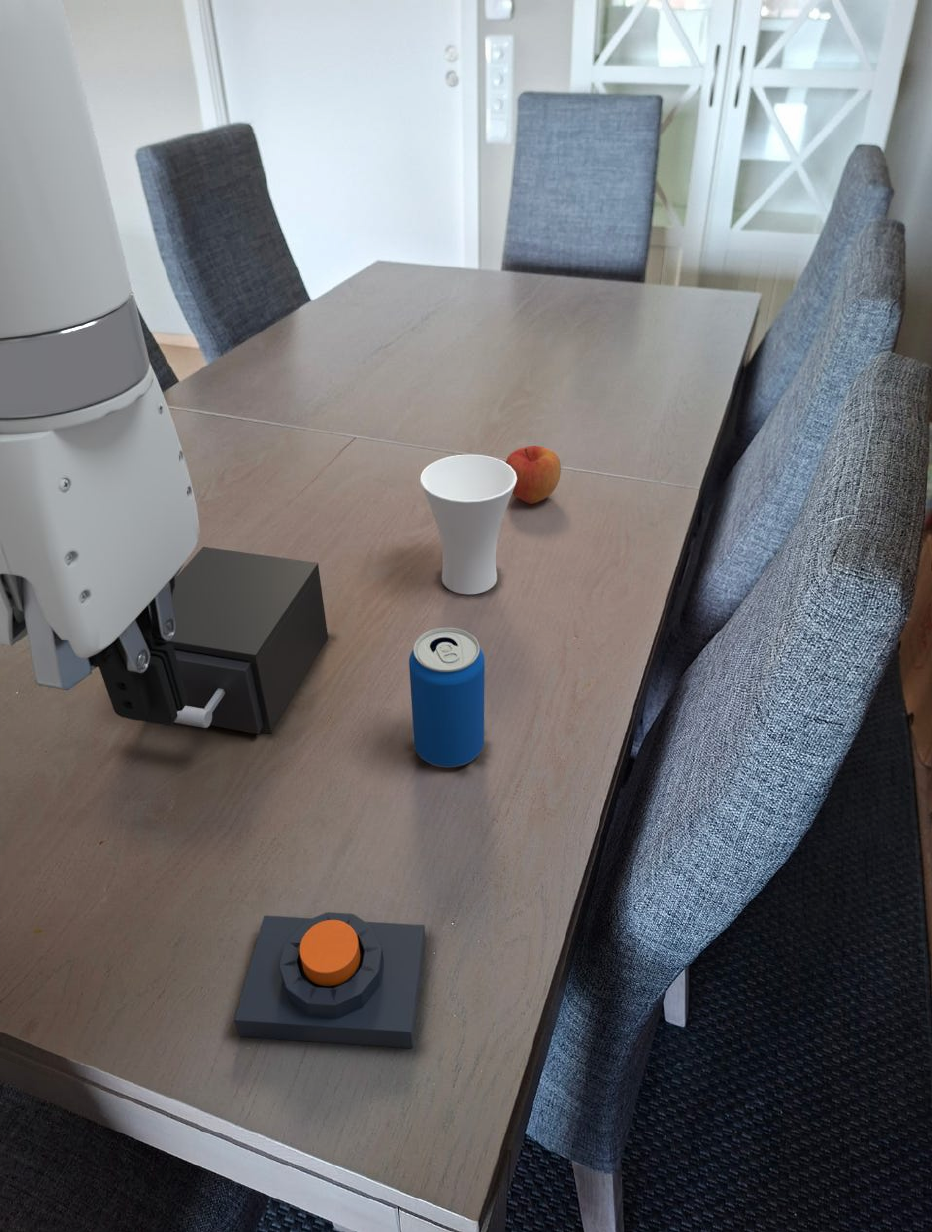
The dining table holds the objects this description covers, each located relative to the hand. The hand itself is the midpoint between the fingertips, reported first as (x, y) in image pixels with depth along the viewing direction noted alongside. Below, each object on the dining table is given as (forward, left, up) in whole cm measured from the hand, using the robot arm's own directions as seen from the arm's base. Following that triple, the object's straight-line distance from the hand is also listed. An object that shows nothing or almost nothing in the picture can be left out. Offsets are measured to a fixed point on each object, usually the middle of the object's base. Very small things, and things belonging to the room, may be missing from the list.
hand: (152, 710), depth 44 cm
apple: (+19, +72, -29) cm, 80 cm away
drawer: (-11, +31, -28) cm, 43 cm away
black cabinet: (-10, +35, -29) cm, 47 cm away
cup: (+12, +53, -29) cm, 62 cm away
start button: (+6, +2, -26) cm, 26 cm away
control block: (+6, +2, -29) cm, 30 cm away
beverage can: (+12, +26, -29) cm, 41 cm away
